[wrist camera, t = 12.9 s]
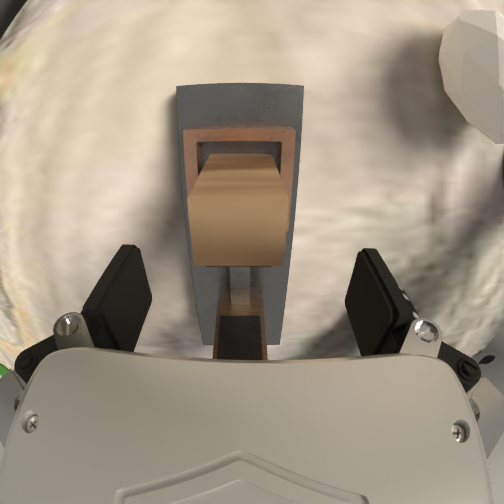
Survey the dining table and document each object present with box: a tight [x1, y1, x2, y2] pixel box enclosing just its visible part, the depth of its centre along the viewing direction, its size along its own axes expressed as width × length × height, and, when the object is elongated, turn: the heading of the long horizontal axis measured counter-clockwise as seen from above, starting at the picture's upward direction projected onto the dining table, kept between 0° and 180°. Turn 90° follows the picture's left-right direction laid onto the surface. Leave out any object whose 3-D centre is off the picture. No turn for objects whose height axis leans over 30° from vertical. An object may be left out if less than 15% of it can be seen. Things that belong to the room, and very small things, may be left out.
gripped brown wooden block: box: [187, 153, 289, 267], centre depth 19 cm, size 5×5×10 cm
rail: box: [176, 83, 304, 360], centre depth 23 cm, size 10×30×12 cm, turn 179°
